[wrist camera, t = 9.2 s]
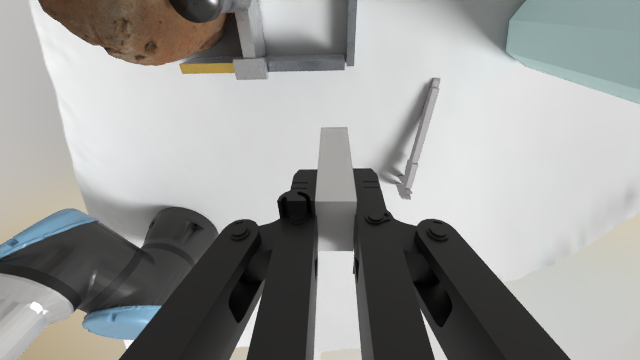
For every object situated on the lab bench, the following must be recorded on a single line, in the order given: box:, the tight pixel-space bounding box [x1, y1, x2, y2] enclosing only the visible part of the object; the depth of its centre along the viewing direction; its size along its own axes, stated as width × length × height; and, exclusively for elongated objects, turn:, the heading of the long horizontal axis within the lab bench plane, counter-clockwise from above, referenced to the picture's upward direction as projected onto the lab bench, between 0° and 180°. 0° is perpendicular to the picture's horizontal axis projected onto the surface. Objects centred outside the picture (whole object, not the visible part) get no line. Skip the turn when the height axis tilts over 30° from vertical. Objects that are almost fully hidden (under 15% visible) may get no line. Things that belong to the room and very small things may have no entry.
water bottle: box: [506, 0, 640, 104], centre depth 22 cm, size 10×10×25 cm
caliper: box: [397, 78, 440, 200], centre depth 41 cm, size 20×1×6 cm, turn 175°
